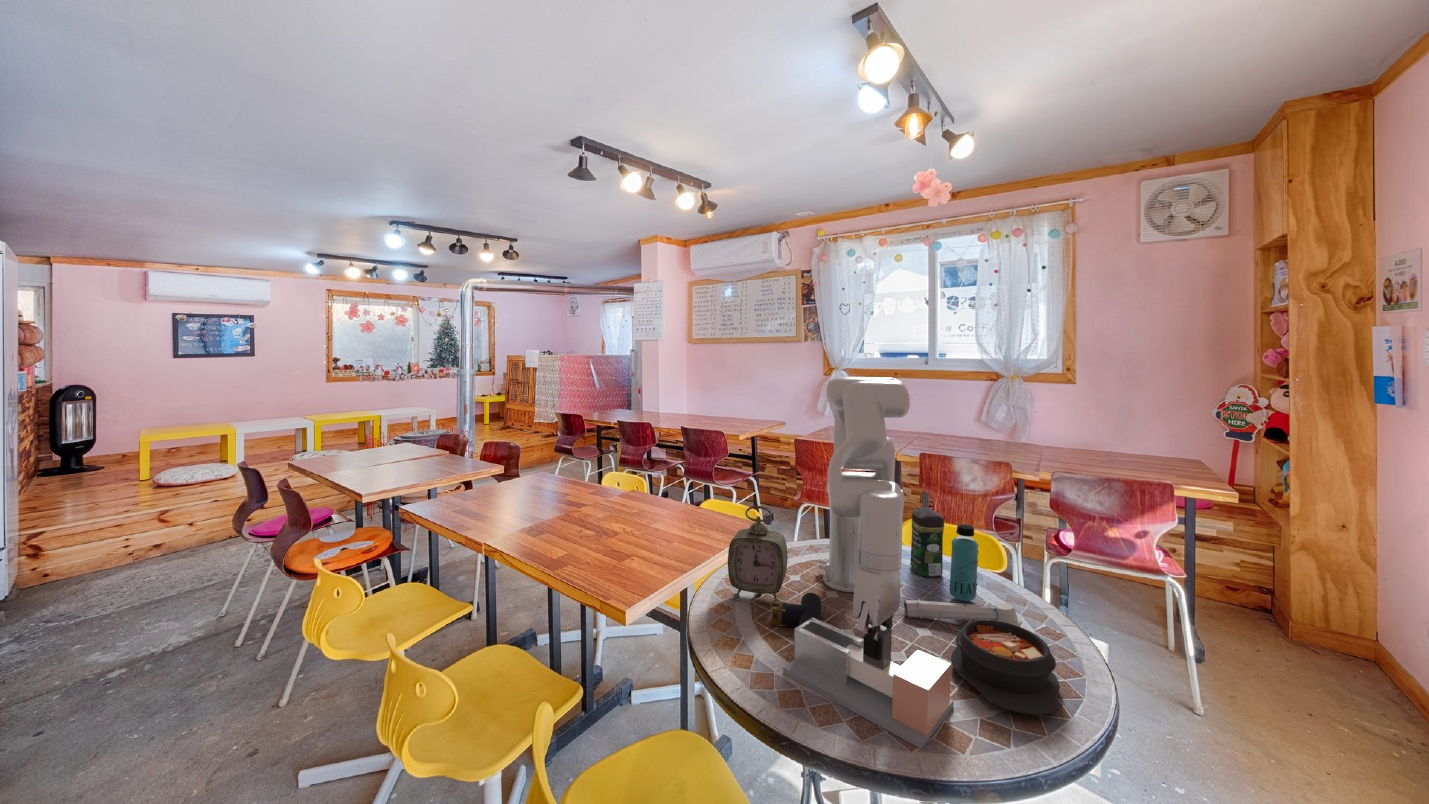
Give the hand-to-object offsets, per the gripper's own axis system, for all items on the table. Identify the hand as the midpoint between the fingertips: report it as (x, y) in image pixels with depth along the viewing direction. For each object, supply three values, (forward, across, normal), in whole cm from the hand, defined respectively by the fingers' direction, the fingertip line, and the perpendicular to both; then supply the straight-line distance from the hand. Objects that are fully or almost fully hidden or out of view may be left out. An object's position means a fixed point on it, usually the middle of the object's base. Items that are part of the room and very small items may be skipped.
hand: (877, 651), depth 94 cm
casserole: (+9, -22, +16) cm, 28 cm away
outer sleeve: (+7, 0, -11) cm, 13 cm away
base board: (+9, 0, -2) cm, 9 cm away
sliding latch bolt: (+6, 0, +1) cm, 6 cm away
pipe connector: (+9, -10, -25) cm, 29 cm away
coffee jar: (+9, -61, -16) cm, 64 cm away
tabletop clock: (+9, -14, -40) cm, 44 cm away
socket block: (+7, 0, +8) cm, 11 cm away
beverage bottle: (+9, -50, -2) cm, 51 cm away
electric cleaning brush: (+9, -38, +2) cm, 39 cm away
